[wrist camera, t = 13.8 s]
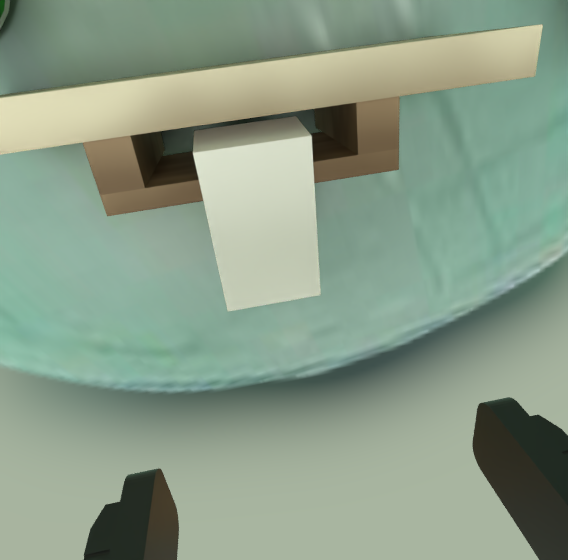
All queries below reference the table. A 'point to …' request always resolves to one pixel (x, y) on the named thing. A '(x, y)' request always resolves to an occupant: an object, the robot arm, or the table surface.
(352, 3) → the table surface
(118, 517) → the robot arm
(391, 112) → the wall board
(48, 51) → the table surface
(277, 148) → the cabinet
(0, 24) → the soda can
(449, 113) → the table surface
